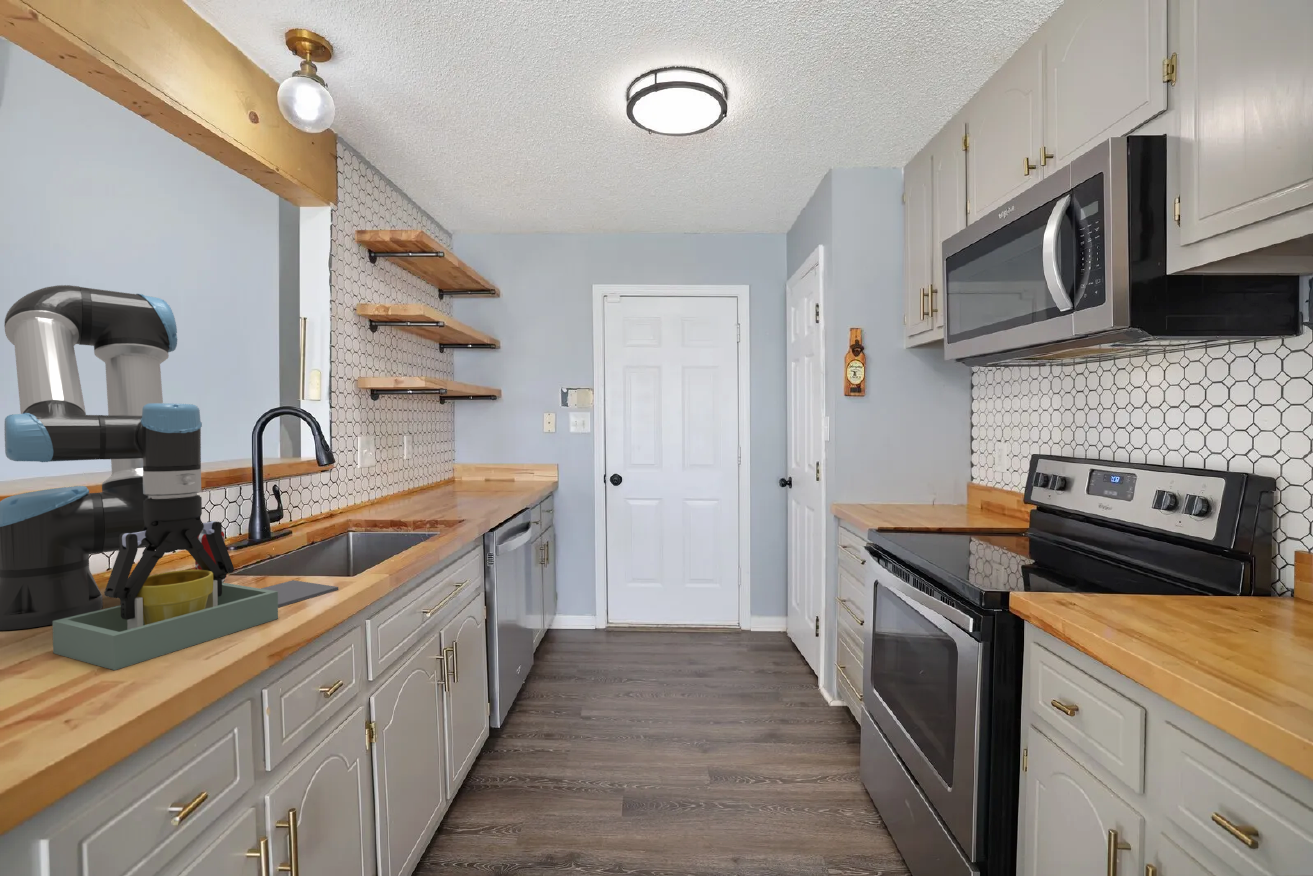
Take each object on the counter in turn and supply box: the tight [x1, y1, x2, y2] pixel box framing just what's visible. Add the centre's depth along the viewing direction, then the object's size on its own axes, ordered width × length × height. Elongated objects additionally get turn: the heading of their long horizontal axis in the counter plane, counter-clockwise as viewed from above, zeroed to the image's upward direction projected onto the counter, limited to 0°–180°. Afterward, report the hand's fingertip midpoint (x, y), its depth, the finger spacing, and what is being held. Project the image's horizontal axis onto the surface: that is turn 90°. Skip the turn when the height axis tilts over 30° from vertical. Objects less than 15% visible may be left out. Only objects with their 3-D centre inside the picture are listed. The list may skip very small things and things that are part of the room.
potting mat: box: [260, 579, 339, 608], centre depth 120 cm, size 14×14×1 cm
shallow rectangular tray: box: [52, 581, 279, 671], centre depth 97 cm, size 16×24×5 cm
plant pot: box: [137, 569, 213, 625], centre depth 97 cm, size 10×10×10 cm
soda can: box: [194, 530, 226, 583], centre depth 129 cm, size 5×5×12 cm
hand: (174, 626), depth 97 cm, fingers closed on plant pot, 10 cm apart
